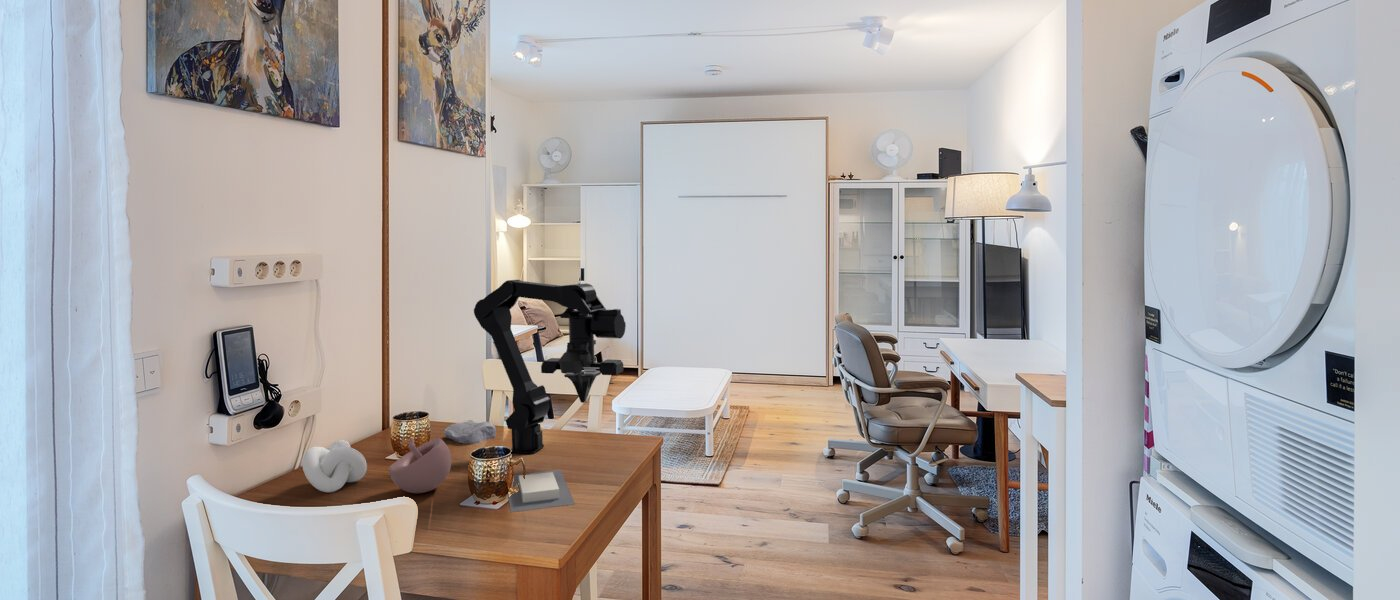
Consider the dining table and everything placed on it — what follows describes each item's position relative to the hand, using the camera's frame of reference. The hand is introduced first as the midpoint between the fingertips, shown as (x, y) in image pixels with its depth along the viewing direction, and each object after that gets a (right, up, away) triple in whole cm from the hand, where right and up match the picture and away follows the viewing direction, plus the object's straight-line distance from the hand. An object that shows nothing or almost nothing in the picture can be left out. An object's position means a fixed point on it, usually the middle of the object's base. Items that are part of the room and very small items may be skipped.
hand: (583, 402), depth 165 cm
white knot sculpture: (-50, -15, -17) cm, 55 cm away
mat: (-6, -15, -23) cm, 28 cm away
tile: (-7, -13, -19) cm, 24 cm away
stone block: (-33, -13, +18) cm, 40 cm away
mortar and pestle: (-30, -15, -22) cm, 40 cm away
